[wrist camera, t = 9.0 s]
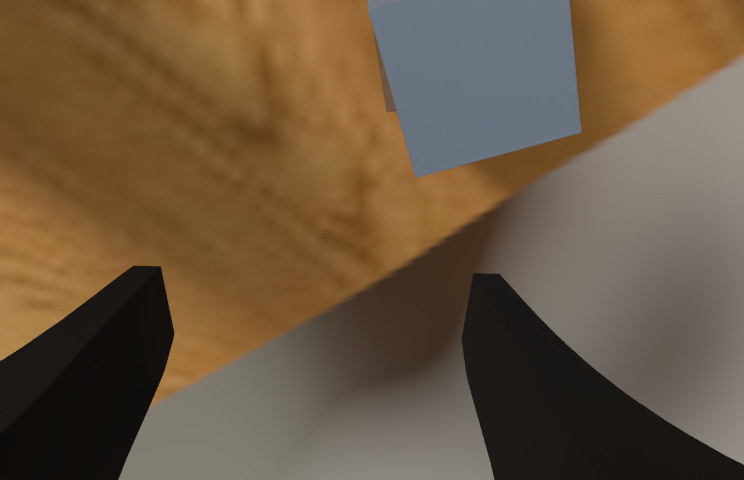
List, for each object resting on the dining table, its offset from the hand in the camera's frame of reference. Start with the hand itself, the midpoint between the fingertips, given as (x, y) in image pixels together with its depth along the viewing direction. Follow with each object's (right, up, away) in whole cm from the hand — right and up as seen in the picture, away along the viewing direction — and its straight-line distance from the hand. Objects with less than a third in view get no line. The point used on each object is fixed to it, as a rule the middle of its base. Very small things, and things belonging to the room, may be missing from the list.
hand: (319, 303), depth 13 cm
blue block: (+4, +8, +3) cm, 9 cm away
